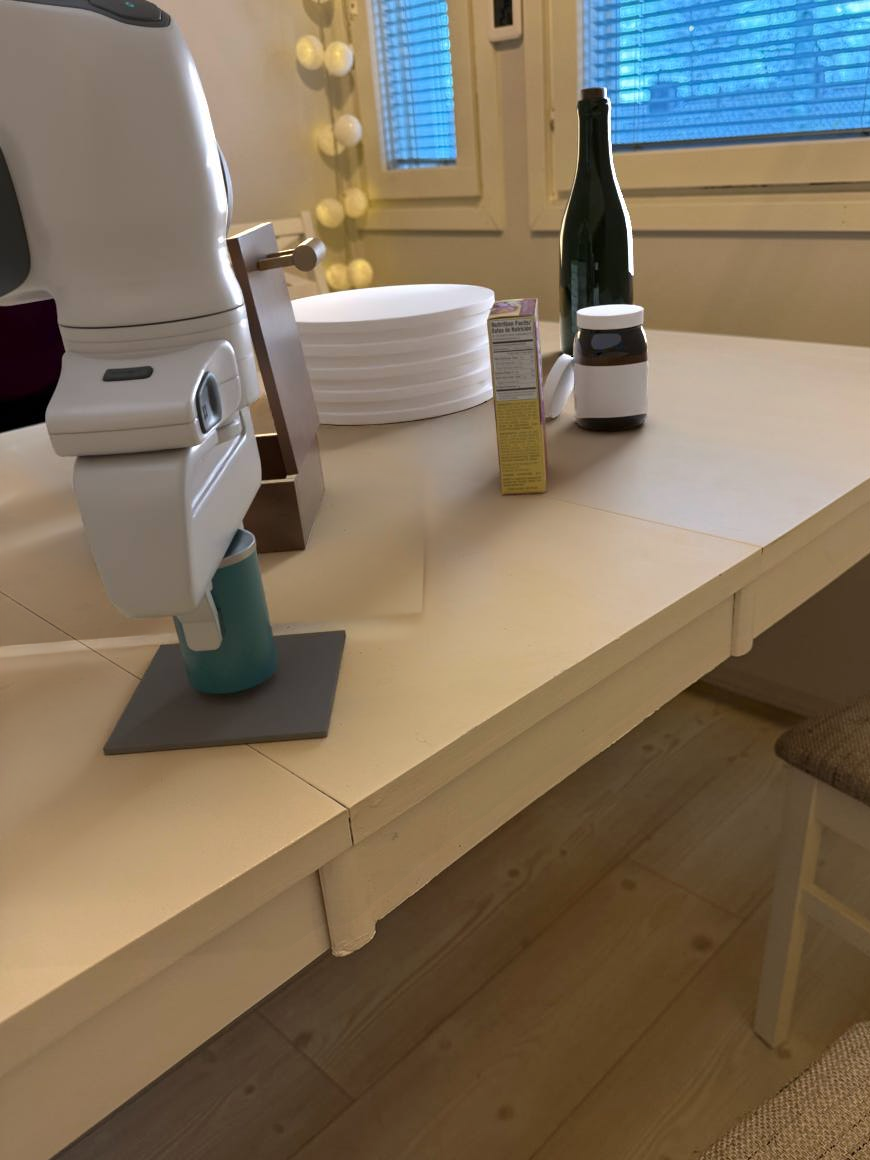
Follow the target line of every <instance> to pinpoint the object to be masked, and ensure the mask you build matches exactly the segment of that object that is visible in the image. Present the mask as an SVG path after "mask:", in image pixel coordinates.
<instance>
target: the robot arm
mask: <svg viewBox="0 0 870 1160" xmlns="http://www.w3.org/2000/svg"><path fill="white" fill-rule="evenodd" d="M232 183H233V182H232V179H231V174H230V170H229V166H228V164H227V161H226V157H225V155H224V153H223V151H222V148H221V147H220V144H219V142H218V140H217V139H216V136H215V131H214V125H213V122H212V119H211V114H210V110H209V106H208V102H207V98H206V95H205V90H204V88H203V84H202V81H201V77H200V74H199V72H198V69H197V66H196V63H195V59H194V57H193V54H192V52H191V50H190V48H189V45H188V43H187V40H186V38H185V36H184V34H183V32H182V31H181V28H180V26H179V24H178V23H177V22H176V20H175V19H174V17H172V15H170V14H169V13H168V12H166V11H165V10H163V9H162V8H160V7H159V6H158V5H156V4H155V3H154V2H151V1H149V0H0V307H12V306H17V305H22V304H29V303H35V302H41V301H46V300H52V299H53V300H54V303H55V306H56V316H57V325H58V329H59V333H60V335H61V339H62V340H61V341H62V343H63V347H64V351H65V352H64V353H63V354H62V357H61V370H60V375H59V378H58V382H57V384H56V387H55V390H54V391H53V394H52V396H51V399H50V400H49V403H48V405H47V407H46V411H45V415H44V417H45V419H44V420H45V427H46V430H47V435H48V436H49V441H50V443H51V446H52V447H51V448H52V449H53V451H54V453H55V454H56V455H57V456H59V457H61V458H62V457H63V458H66V457H67V458H68V457H76V458H75V460H74V462H73V463H74V464H73V468H72V469H73V470H72V482H73V490H74V495H75V499H76V503H77V508H78V511H79V514H80V518H81V521H82V524H83V528H84V531H85V534H86V537H87V540H88V543H89V547H90V550H91V552H92V553H91V554H92V557H93V560H94V562H95V566H96V568H97V570H98V573H99V577H100V579H101V582H102V585H103V587H104V590H105V593H106V595H107V597H108V598H109V601H110V602H111V603H112V604H113V606H115V608H116V609H117V610H118V611H119V613H121V614H122V615H123V616H124V617H126V618H128V619H150V618H151V619H154V618H167V617H173V616H176V617H177V618H178V620H179V621H180V622H181V623H182V626H183V630H184V634H185V638H186V642H187V646H188V647H189V648H190V649H191V650H193V651H207V650H216V649H218V648H219V647H220V645H221V642H222V640H223V637H224V635H225V632H226V630H225V626H224V624H223V616H222V611H221V608H217V609H216V607H215V604H214V601H213V598H212V595H211V592H210V591H211V590H212V581H211V580H212V578H213V576H214V574H215V572H216V570H217V568H218V566H219V564H220V562H221V561H222V559H223V557H224V555H225V553H226V551H227V549H228V547H229V545H230V543H231V541H232V539H233V537H234V536H235V534H236V532H237V530H238V529H243V530H244V527H243V522H242V520H243V518H244V516H245V514H246V512H247V511H248V509H249V507H250V505H251V503H252V501H253V499H254V497H255V495H256V493H257V491H258V489H259V488H260V486H261V462H260V457H259V452H258V447H257V442H256V438H255V435H256V434H255V433H256V432H255V429H254V424H253V420H252V417H251V411H250V407H249V406H251V405H253V404H254V403H255V402H256V401H257V400H258V399H259V398H260V396H261V387H260V382H259V381H260V380H259V376H258V370H257V366H256V359H255V358H256V357H255V354H254V353H255V352H254V347H253V342H252V338H251V334H250V330H249V325H248V319H247V313H246V307H245V303H244V297H243V293H242V290H241V288H240V285H239V283H238V281H237V279H236V277H235V273H234V269H233V267H232V264H231V262H230V261H231V260H230V259H229V258H230V257H229V251H228V247H227V243H226V239H228V234H229V231H230V228H231V222H232V218H233V208H234V192H233V184H232Z"/></svg>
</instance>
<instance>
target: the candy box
mask: <svg viewBox="0 0 870 1160" xmlns="http://www.w3.org/2000/svg"><path fill="white" fill-rule="evenodd" d="M538 303H539V302H538V297H528V298H527V297H526V298H525V297H524V298H514V299H513V298H511V299H503V300H495V302H494V304H493V306H492V308H491V309H490V310H491V311H490V314H489V316H488V318H487V329H488V339H489V350H490V362H491V375H492V387H493V397H492V399H493V410H494V411H493V412H494V420H495V421H494V422H495V433H496V443H497V456H498V467H499V479H500V480H499V481H500V490H501V491H500V492H501V495H505V496H506V495H507V496H508V495H509V496H510V495H528V494H529V495H530V494H532V495H533V494H544V493H546V492H547V491H546V490H547V479H548V469H549V468H548V467H549V454H548V442H547V441H548V440H547V427H546V415H545V407H544V392H543V389H544V381H543V379H544V378H543V364H542V350H541V349H542V347H541V336H540V335H541V334H540V321H539V319H540V318H539V304H538Z"/></svg>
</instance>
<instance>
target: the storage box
mask: <svg viewBox="0 0 870 1160" xmlns="http://www.w3.org/2000/svg"><path fill="white" fill-rule="evenodd" d="M255 438H256V442H257V447H258V452H259V457H260V462H261V486H260V488H259V489H258V491H257V493H256V495H255V497H254V499H253V501H252V503H251V505H250V507H249V509H248V511H247V512H246V514H245V516H244V518H243V520H242V522H243V527H244V530H246V531H249V532H250V533H252V534H253V535H254V537H255V541H256V551H257V555H262V554H263V555H264V554H274V553H286V552H298V551H299V552H300V551H306V550H307V547H308V544H309V542H310V538H311V535H312V532H313V528H314V526H315V523H316V520H317V517H318V513H319V511H320V508H321V505H322V501H323V498H324V495H325V492H326V486H325V478H324V472H323V465H322V459H321V452H320V446H319V445H320V444H319V439H318V432H316V434H315V436H314V439H313V441H312V443H311V446H310V448H309V451H308V453H307V455H306V458H305V460H304V462H303V465H302V467H301V469H300V472H299V474H296V475H290V476H288V475H287V471H286V467H285V464H284V460H283V456H282V452H281V448H280V445H279V441H278V437H277V433H276V432H272V433H262V434H261V433H260V434H255Z"/></svg>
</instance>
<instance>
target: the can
mask: <svg viewBox="0 0 870 1160" xmlns="http://www.w3.org/2000/svg"><path fill="white" fill-rule="evenodd" d="M211 581H212V590H211V591H210V592H211V595H212V598H213V601H214V604H215V607H216V609H217V608H221V611H222V616H223V624H224V626H225V630H226V632H225V635H224V637H223V640H222V642H221V645H220V647H219V648H218V649H216V650H207V651H193V650H191V649H190V648H189V647H188V646H187V642H186V638H185V634H184V630H183V626H182V623H181V622H180V621H179V620H178V618H177V617H176V616H172V619H173V623H174V628H175V631H176V637H177V640H178V643H179V644H180V648H181V652H182V656H183V660H184V665H185V669H186V673H187V677H188V681H189V683H190V685H191V686H192V687H193V688H195V689H196V690H198V691H201V692H205V693H212V694H224V693H233V692H238V691H242V690H246V689H249V688H252V687H254V686H256V685H259V684H261V683H262V682H264V681H266V680H267V679H269V678H270V677H271V676H272V675H273V674H274V673H275V671H276V670H277V667H278V660H277V655H276V650H275V645H274V639H273V636H274V635H273V630H272V629H273V628H272V624H271V620H270V614H269V609H268V604H267V603H268V602H267V598H266V593H265V588H264V583H263V577H262V572H261V567H260V561H259V557H258V554H257V551H256V541H255V537H254V535H253V534H252V533H250V532H249V531H246V530H243V529H238V530H237V532H236V534H235V536H234V537H233V539H232V541H231V543H230V545H229V547H228V549H227V551H226V553H225V555H224V557H223V559H222V561H221V562H220V564H219V566H218V568H217V570H216V572H215V574H214V576H213V578H212V580H211Z"/></svg>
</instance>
